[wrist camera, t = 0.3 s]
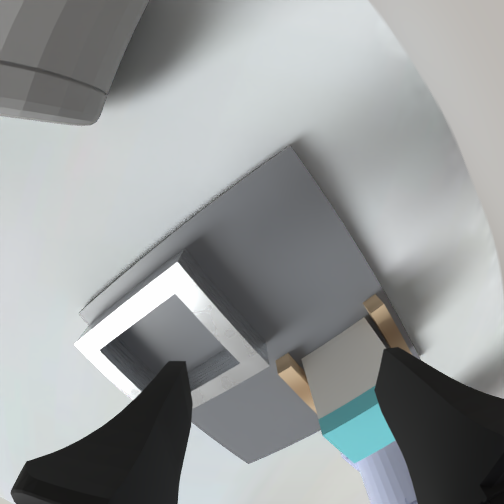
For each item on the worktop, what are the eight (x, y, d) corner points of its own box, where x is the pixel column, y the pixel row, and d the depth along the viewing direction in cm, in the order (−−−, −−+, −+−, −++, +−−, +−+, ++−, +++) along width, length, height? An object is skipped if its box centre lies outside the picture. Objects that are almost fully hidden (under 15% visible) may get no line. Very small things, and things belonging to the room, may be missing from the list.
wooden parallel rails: (407, 350, 21) (415, 361, 20) (319, 407, 22) (323, 420, 21) (375, 293, 20) (384, 303, 18) (275, 360, 21) (277, 374, 19)
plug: (387, 353, 21) (429, 417, 14) (329, 391, 22) (354, 463, 15) (364, 316, 20) (409, 382, 13) (300, 359, 21) (322, 435, 14)
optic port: (266, 342, 20) (269, 365, 18) (166, 401, 22) (161, 424, 19) (185, 247, 18) (177, 261, 16) (89, 325, 20) (74, 344, 17)
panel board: (417, 357, 23) (423, 364, 22) (248, 455, 25) (248, 463, 24) (287, 146, 18) (290, 145, 17) (84, 307, 20) (78, 313, 19)
